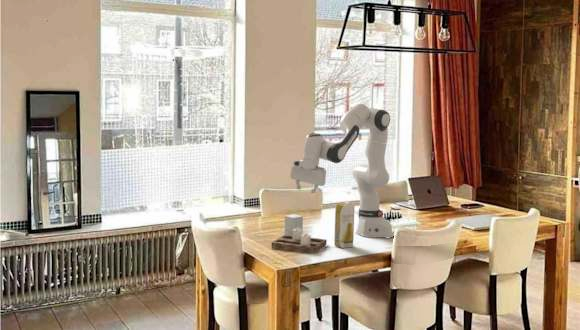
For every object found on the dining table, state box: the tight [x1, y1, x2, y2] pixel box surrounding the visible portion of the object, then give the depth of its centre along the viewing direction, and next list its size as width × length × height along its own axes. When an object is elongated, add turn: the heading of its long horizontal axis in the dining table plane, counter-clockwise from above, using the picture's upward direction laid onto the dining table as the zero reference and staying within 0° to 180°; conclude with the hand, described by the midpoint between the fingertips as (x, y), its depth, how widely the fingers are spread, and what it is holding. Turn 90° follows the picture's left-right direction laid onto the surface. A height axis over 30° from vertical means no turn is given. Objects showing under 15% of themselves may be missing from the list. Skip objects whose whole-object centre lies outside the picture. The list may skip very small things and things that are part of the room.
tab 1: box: [292, 228, 302, 240], centre depth 342 cm, size 4×4×7 cm
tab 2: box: [301, 232, 312, 246], centre depth 331 cm, size 4×4×7 cm
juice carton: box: [333, 201, 355, 249], centre depth 338 cm, size 9×8×24 cm
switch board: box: [271, 234, 327, 254], centre depth 337 cm, size 24×18×3 cm
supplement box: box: [284, 213, 304, 235], centre depth 353 cm, size 7×7×13 cm
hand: (305, 191), depth 332 cm, fingers open, 8 cm apart
